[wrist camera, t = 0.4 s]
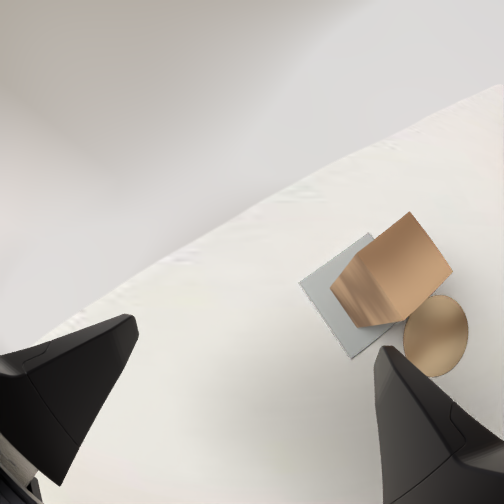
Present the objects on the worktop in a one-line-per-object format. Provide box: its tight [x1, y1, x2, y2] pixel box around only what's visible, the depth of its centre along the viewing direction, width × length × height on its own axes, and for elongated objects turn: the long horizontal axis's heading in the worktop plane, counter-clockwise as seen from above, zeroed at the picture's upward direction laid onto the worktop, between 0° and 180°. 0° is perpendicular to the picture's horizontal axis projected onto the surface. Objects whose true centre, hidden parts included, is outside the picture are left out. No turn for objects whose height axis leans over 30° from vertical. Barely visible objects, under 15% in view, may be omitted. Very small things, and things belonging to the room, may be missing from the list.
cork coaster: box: [403, 295, 468, 377], centre depth 19 cm, size 8×8×1 cm
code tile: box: [298, 233, 396, 359], centre depth 22 cm, size 8×8×1 cm
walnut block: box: [330, 211, 453, 328], centre depth 17 cm, size 4×4×10 cm
